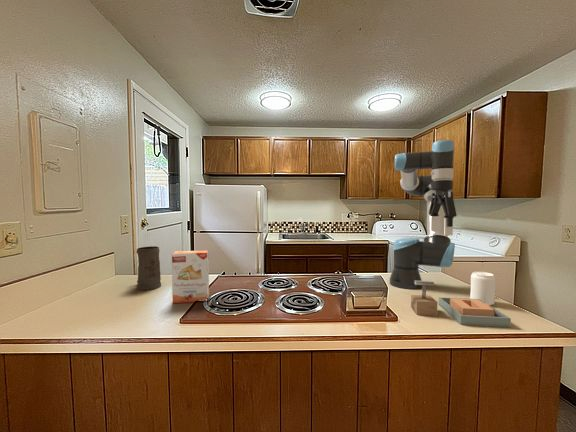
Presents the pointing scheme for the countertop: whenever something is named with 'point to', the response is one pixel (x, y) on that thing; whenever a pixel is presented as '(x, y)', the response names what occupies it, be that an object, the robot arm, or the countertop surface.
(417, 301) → the block
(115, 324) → the countertop surface
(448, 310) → the tray
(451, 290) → the countertop surface
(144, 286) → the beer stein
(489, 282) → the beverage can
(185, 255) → the cracker box
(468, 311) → the orange square frame
